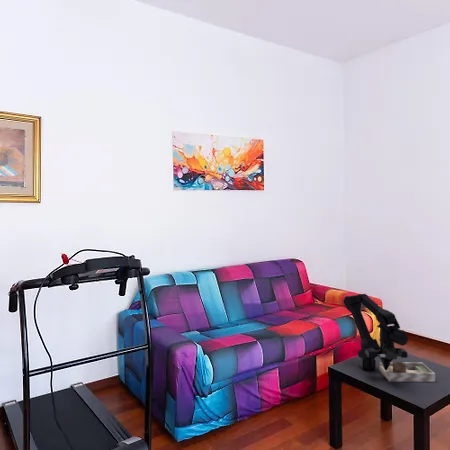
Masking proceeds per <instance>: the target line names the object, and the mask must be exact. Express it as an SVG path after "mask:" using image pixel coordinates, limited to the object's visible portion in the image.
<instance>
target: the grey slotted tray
mask: <svg viewBox="0 0 450 450" xmlns="http://www.w3.org/2000/svg"><path fill="white" fill-rule="evenodd" d="M393 362H394V361H393ZM393 362H392V361H391V362H390V364H389V367H388V369H387V370H385V369H384V366H383V364H382V361H379V362H378V371H379V372H380V373H381V374H382V376H384V377H385V379H386V380H387V381H388V382H405V383H406V382H422V383H423V382H427V383H428V382H432V383H433V382H436V373H435V372H434V371H433V370H432V369H430V367H428V366H427V365H426V364H425V363H424V362H411V361H410V362H408V361H407V362H406V361H405V362H402V361H401V362H402V363H404V364H405V365H406V373H394V372H393Z"/></svg>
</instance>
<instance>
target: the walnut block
mask: <svg viewBox="0 0 450 450" xmlns="http://www.w3.org/2000/svg"><path fill="white" fill-rule="evenodd" d="M393 372H394V373H406V365H405V364H404V363H402V361H393Z"/></svg>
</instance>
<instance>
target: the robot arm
mask: <svg viewBox="0 0 450 450" xmlns="http://www.w3.org/2000/svg"><path fill="white" fill-rule="evenodd" d="M343 304H344V306H345V308H346V310H347V311H349V312H350V313H351V315H352V318H353V321H354V323H355V325H356V329H357V331H358V334H359V336H360V339H361V341H360V349H359V351H357V355H358V356H357V357H359V358H360V364H358V365H359V367H360V369H361V370H362V371H363V372H366V371H367V372H373V371H374V372H376V371H377V369H376V366H377V364H376V363H377V362H376V358H379V359H380V362H382V364H383V366H384V369H385V370H387V369H388V367H389V364H390V362H392V361H393V360H397V359H398V357H399V358H402V359H404V358H405V359H407V358H408V357H409V354H408V352H407V351H406V350H405V349H404V348H403V347H395V344H397V345H400V346H405V345H406V344H408V341H409V336H408V334H407V333H406V331H405V330H404V329H401V326H400V324H399V321H398V320H397V318H396V315H395V314H394V313H393V312H391V311H389V310H388V309H385V308H382V307H381V306H380V305H379V304H377V303H376V302H375V301H374V300H373V299H371V298H370V297H369V295H368V294H367V293H359V294H357V295H356V294H353V295H347V296H344V299H343ZM362 306H364V308H366V309H367V310H368V311H369V312H371V313H372V315H374V316H375V320H376V321H377V322H378V323H379V324H378V325H377V328H379V329H380V333H379V334H380V335H379V336H380V338H378V339H379V343H378V340H377V339H376V338H373V337H372V336H371V334H370V331H369V329H368V328H369V327H368V326H367V323H366V321H365V320H366V319H365V318H364V316H363V313H362Z"/></svg>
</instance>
